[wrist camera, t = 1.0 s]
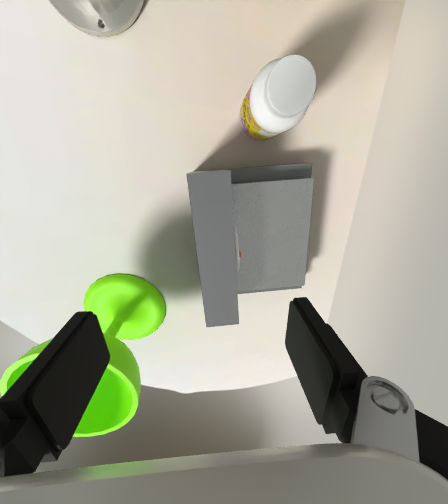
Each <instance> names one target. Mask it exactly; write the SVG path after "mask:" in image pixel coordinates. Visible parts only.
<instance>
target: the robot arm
mask: <svg viewBox="0 0 448 504" xmlns="http://www.w3.org/2000/svg"><path fill="white" fill-rule="evenodd" d="M49 1H50V3H51V4H52V5H53V6H54V7H55V8H56V10H57V11H58V12H59V13H60V14H61V15H62V16H63V17H64V18H65V19H66V20H67V21H68V22H69V23H71V24H72V25H74V26H75V27H76V28H78V29H79V30H81V31H83V32H85V33H88V34H90V35H94V36H98V37H110V36H114V35H118V34H120V33H121V32H123V31H125V30H127V29H128V28H129V27H130V26H131V25H132V24H133V23H134V21H135V20H136V18H137V17H138V15H139V13H140V11H141V8H142V6H143V3H144V0H49ZM104 26H105V27H104ZM103 27H104V29H103ZM285 345H286V349H287V352H288V354H289V356H290V359H291V361H292V364H293V366H294V368H295V371H296V373H297V376H298V378H299V380H300V383H301V385H302V388H303V390H304V392H305V395H306V397H307V400H308V402H309V404H310V407H311V409H312V412H313V414H314V416H315V419H316V421H317V423H318V424H322V425H323V428H324V430H325V433H326V434H331V433H336V435H337V437H338V439H339V440H340V441H341V442H342V443H340V444H338V443H336V444H315V445H302V446H289V447H277V448H267V449H257V450H246V451H237V452H225V453H216V454H205V455H195V456H186V457H176V458H166V459H156V460H148V461H137V462H128V463H118V464H109V465H99V466H91V467H81V468H72V469H62V470H54V471H46V472H38V473H36V469H37V467H38V465H39V464H40V462H51V461H57V459H58V457H59V455H60V454H61V452H62V450H64V449H65V448H66V447H67V446H68V444H69V443H70V441H71V439H72V437H73V435H74V433H75V431H76V429H77V427H78V424H79V422H80V420H81V418H82V416H83V414H84V412H85V410H86V408H87V406H88V404H89V402H90V400H91V398H92V396H93V394H94V392H95V390H96V388H97V386H98V384H99V382H100V380H101V378H102V376H103V374H104V372H105V370H106V368H107V366H108V364H109V361H110V353H109V350H108V347H107V344H106V341H105V338H104V335H103V332H102V329H101V327H100V324H99V321H98V318H97V315H96V314H93V312H92V311H84V312H76V313H75V314H74V315H73V316H72V318H71V319H70V320H69V321H68V322H67V323H66V324H65V325H64V327H63V328H62V329H61V330H60V331H59V332H58V333H57V335H56V336H55V337H54V338H53V339H52V340H51V341H50V343H49V344H48V345H47V346H46V347H45V348H44V349H43V351H42V352H41V353H40V354H39V355H38V356H37V357H36V359H35V360H34V361H33V362H32V363H31V364H30V365H29V367H28V368H27V369H26V370H25V371H24V372H23V373H22V375H21V376H20V377H19V378H18V379H17V380H16V381H15V383H14V384H13V385H12V386H11V387H10V388H9V389H8V390H7V392H6V393H5V394H4V395H3V396H2V397H1V399H0V504H448V427H447V426H445V425H444V424H442V423H440V422H438V421H436V420H434V419H432V418H430V417H429V416H427V415H425V414H423V413H421V412H419V411H418V410H416V409H414V406H413V403H412V401H411V400H410V398H409V396H408V395H407V394H406V393H405V392H404V391H403V390H402V389H401V388H400V387H398V386H397V385H396V384H394V383H392V382H391V381H389V380H387V379H384V378H381V377H376V376H371V377H368V376H367V375H366V373H365V372H364V371H363V369H362V368H361V366H360V365H359V364H358V363H357V361H356V360H355V358H354V357H353V356H352V354H351V353H350V352H349V350H348V349H347V348H346V346H345V345H344V344H343V342H342V341H341V340H340V338H339V337H338V336H337V334H336V333H335V331H334V330H333V329H332V327H331V326H330V325H328V324H326V323H325V322H324V321H323V319H322V318H321V316H320V315H319V314H318V312H317V311H316V309H315V308H314V307H313V305H312V304H311V303H310V301H309V300H308V299H307V298H306V297H301V298H294V299H293V301H290V305H289V314H288V322H287V330H286V338H285Z"/></svg>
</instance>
